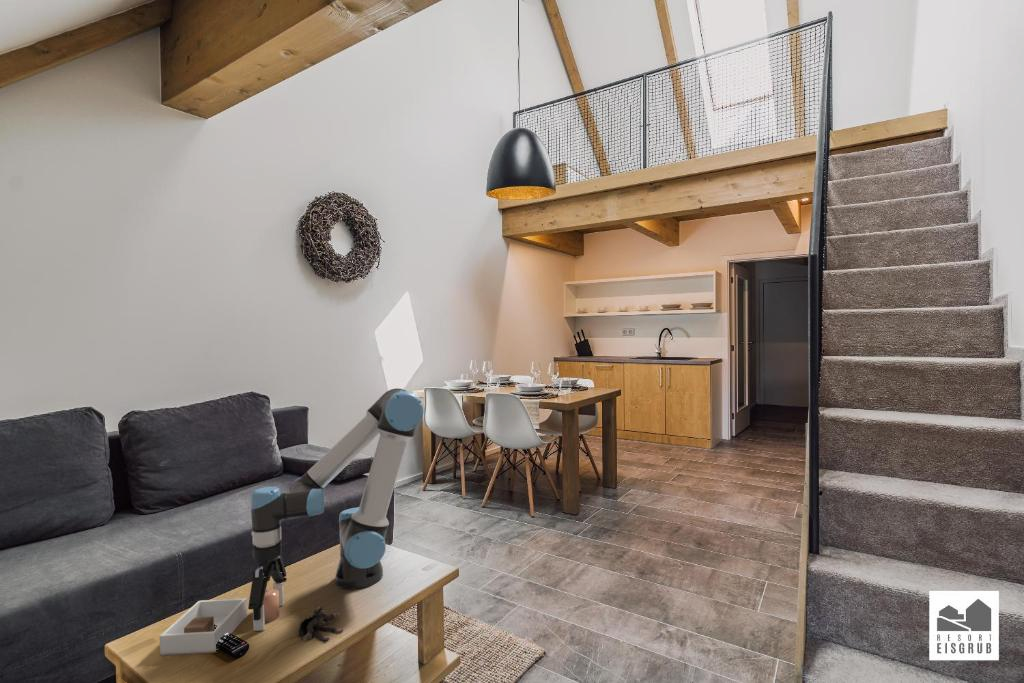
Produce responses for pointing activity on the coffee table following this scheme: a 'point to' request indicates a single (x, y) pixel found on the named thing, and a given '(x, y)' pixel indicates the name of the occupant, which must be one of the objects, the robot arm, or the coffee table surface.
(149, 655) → the coffee table surface
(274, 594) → the round-ended peach cylinder
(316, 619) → the dark brown branched piece
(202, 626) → the walnut cube
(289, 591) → the coffee table surface
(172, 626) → the tote
